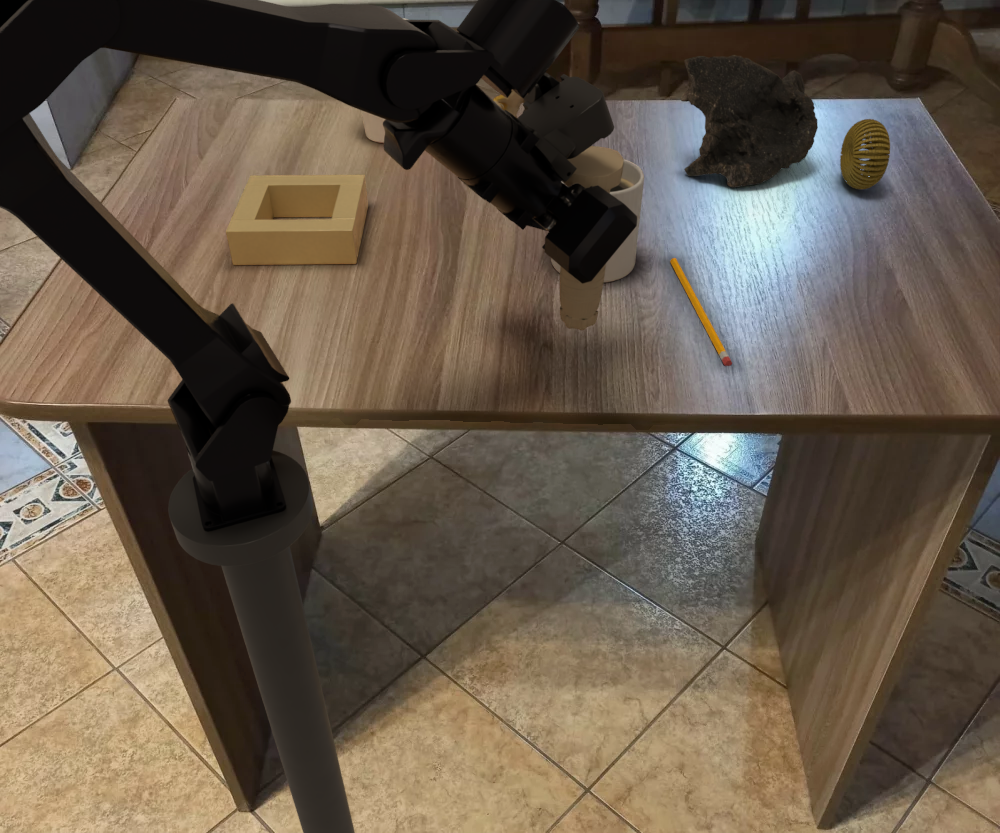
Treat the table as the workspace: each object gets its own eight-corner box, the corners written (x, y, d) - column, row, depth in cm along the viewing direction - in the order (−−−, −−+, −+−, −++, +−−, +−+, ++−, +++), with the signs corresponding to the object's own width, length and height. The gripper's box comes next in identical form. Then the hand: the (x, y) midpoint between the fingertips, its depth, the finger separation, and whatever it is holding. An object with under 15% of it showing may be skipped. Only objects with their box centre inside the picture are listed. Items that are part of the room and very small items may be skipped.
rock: (783, 190, 120) (797, 69, 116) (819, 191, 107) (836, 56, 104) (658, 185, 119) (667, 63, 115) (680, 185, 107) (691, 49, 103)
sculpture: (882, 201, 106) (902, 135, 101) (848, 201, 106) (866, 135, 101) (862, 171, 112) (880, 108, 107) (830, 171, 112) (846, 108, 107)
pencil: (723, 367, 82) (724, 361, 81) (669, 263, 96) (670, 258, 95) (732, 366, 82) (733, 360, 81) (676, 263, 96) (677, 257, 95)
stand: (356, 264, 95) (352, 230, 93) (232, 265, 95) (225, 231, 92) (368, 206, 105) (364, 174, 102) (256, 207, 105) (250, 175, 102)
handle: (544, 336, 79) (554, 172, 70) (558, 301, 84) (570, 143, 75) (598, 345, 78) (616, 179, 69) (609, 308, 83) (627, 149, 74)
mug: (624, 289, 91) (634, 199, 85) (534, 274, 94) (537, 184, 87) (646, 239, 99) (656, 152, 93) (562, 226, 101) (566, 140, 95)
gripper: (628, 95, 58) (732, 214, 69) (489, 16, 70) (596, 127, 81) (518, 233, 60) (637, 327, 71) (402, 133, 72) (519, 226, 83)
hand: (596, 244), depth 77 cm, fingers closed on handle, 3 cm apart
